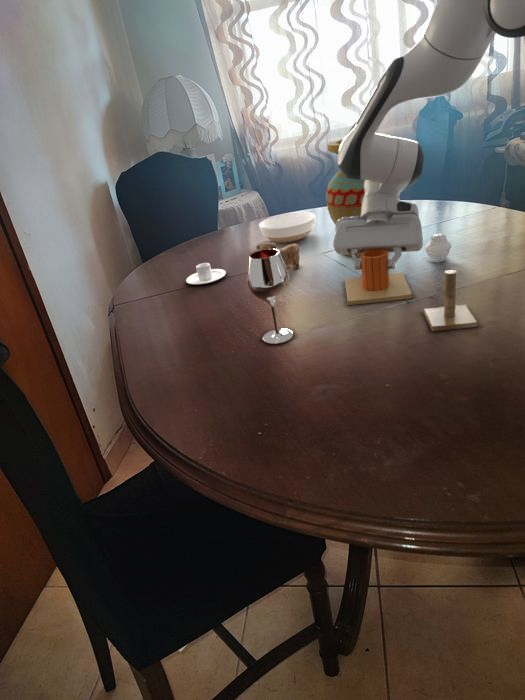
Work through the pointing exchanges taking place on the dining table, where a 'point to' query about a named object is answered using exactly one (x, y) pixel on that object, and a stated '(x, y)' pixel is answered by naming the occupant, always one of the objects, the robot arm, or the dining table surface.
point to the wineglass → (269, 287)
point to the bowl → (288, 226)
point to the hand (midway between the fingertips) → (374, 268)
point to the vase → (344, 192)
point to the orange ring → (375, 269)
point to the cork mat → (394, 292)
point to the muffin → (438, 248)
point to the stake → (450, 309)
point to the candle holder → (205, 274)
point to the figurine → (285, 253)
